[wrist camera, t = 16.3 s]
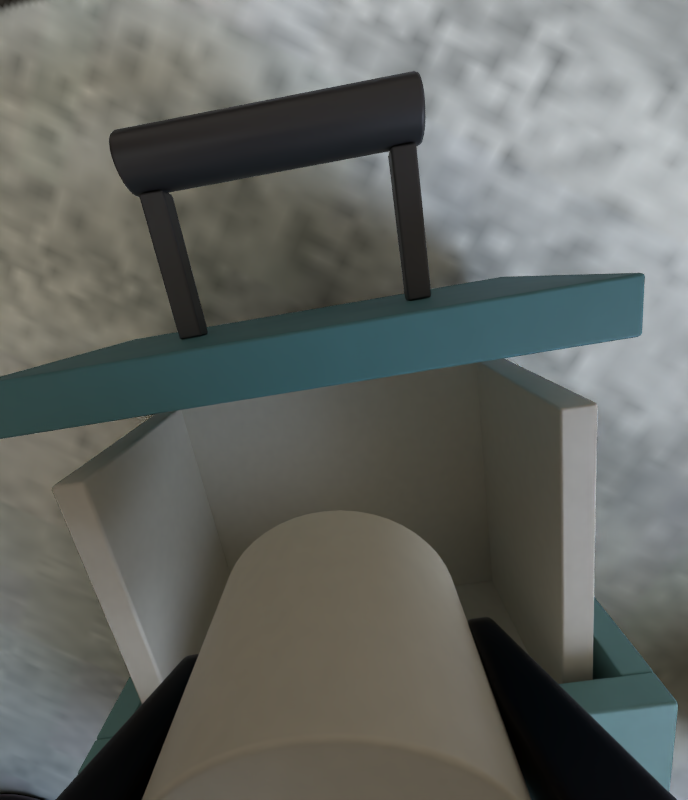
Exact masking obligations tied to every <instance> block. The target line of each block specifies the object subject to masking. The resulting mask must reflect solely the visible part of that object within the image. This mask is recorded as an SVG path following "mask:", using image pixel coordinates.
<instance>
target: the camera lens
mask: <svg viewBox="0 0 688 800" xmlns="http://www.w3.org/2000/svg"><path fill="white" fill-rule="evenodd" d="M0 800H39V799H35V798H31V797H28V796H21V795H14V794H3V795H0Z"/></svg>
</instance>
